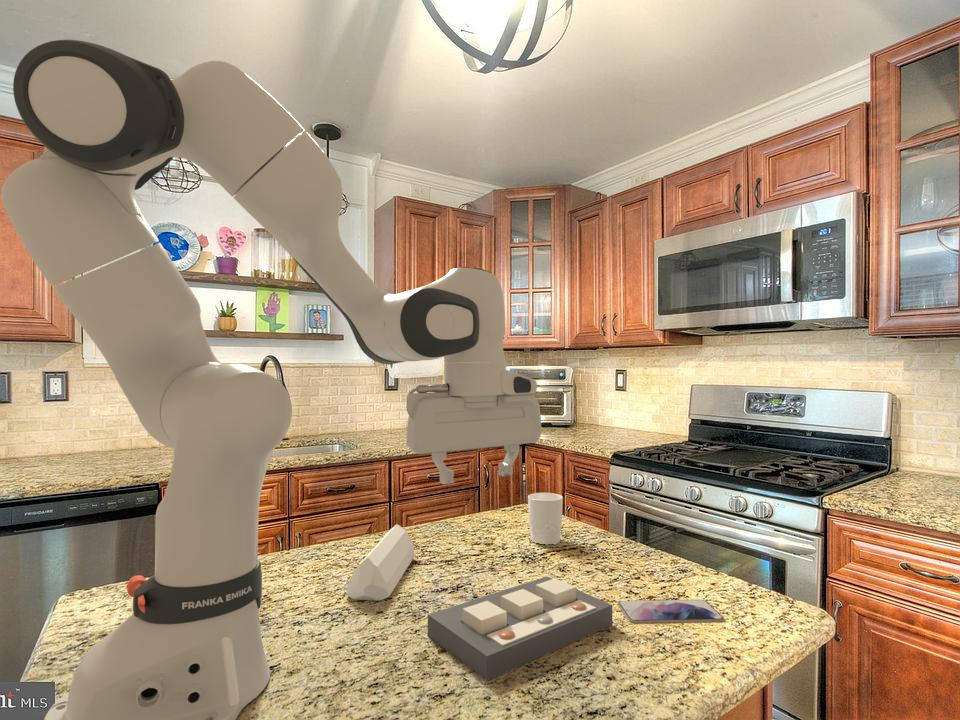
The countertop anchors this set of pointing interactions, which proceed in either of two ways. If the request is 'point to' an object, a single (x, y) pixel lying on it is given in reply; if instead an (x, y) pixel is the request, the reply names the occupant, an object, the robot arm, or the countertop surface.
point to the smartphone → (669, 611)
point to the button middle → (522, 604)
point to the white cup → (545, 517)
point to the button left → (484, 617)
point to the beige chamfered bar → (382, 567)
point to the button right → (556, 592)
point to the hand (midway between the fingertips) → (477, 479)
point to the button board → (518, 631)
